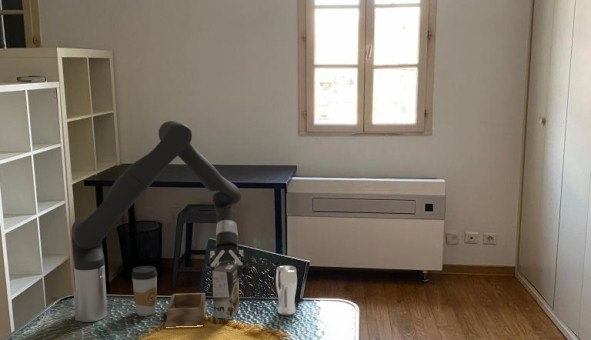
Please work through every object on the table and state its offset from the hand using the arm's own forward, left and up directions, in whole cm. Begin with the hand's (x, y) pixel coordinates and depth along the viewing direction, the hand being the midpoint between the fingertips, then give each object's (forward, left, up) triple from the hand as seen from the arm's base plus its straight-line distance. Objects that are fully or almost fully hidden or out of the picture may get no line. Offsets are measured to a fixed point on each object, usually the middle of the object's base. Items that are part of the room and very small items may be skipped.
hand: (226, 278), depth 183 cm
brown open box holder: (-13, -2, -12) cm, 18 cm away
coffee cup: (-27, +2, -12) cm, 30 cm away
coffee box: (0, -2, -12) cm, 12 cm away
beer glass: (+20, -2, -12) cm, 23 cm away
